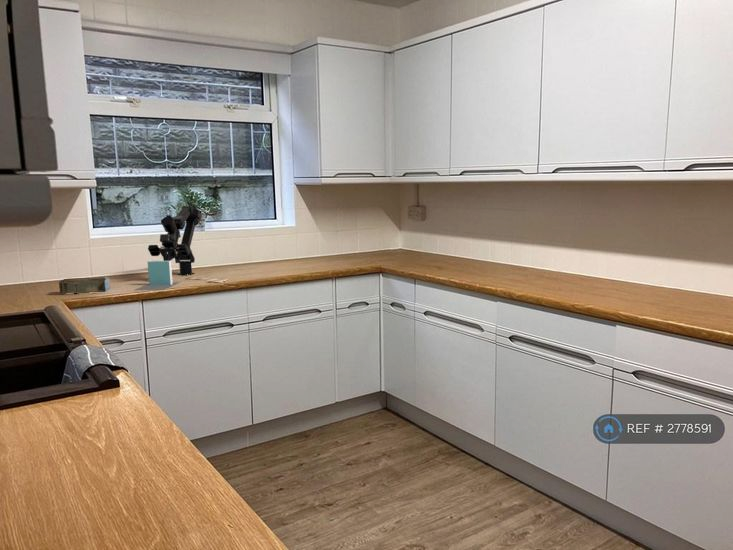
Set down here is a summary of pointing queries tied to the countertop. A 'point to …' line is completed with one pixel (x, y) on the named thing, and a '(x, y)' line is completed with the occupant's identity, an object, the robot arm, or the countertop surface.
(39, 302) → the countertop surface
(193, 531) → the countertop surface
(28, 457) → the countertop surface
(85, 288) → the beverage carton
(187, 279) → the turner
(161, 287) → the mat
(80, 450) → the countertop surface
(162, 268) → the tile
